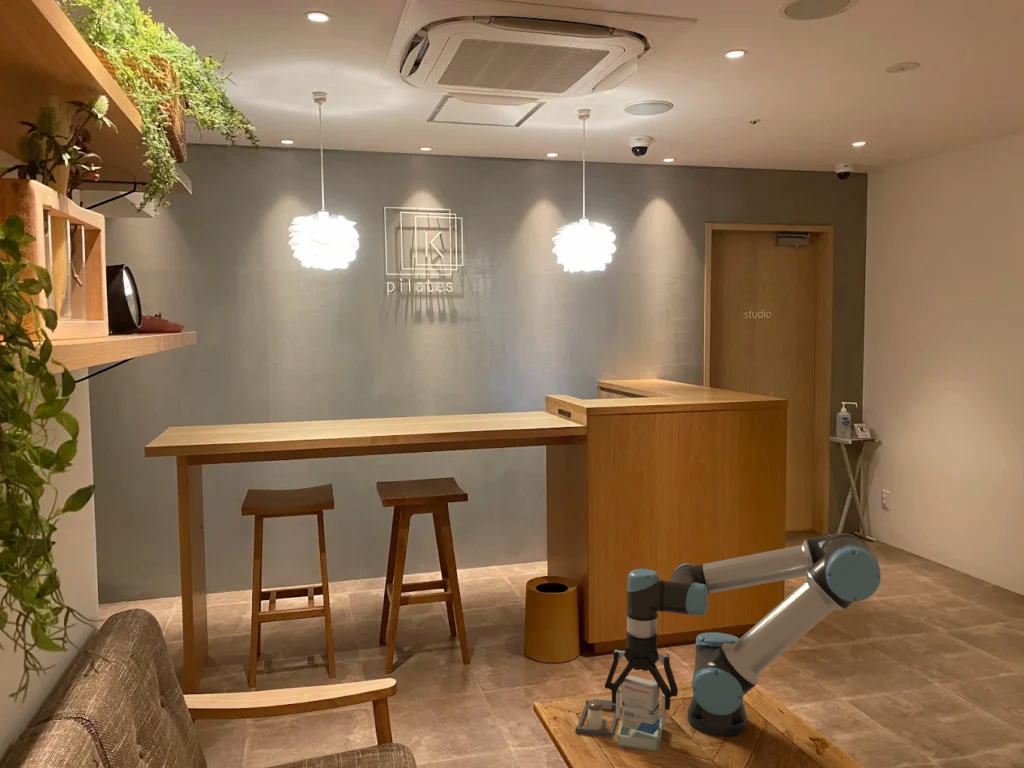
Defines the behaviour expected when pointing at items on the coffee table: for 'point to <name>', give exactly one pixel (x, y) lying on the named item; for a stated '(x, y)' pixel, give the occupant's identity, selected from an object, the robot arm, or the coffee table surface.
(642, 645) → the robot arm
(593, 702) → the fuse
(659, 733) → the tray
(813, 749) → the coffee table surface
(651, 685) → the ink box
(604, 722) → the rail
